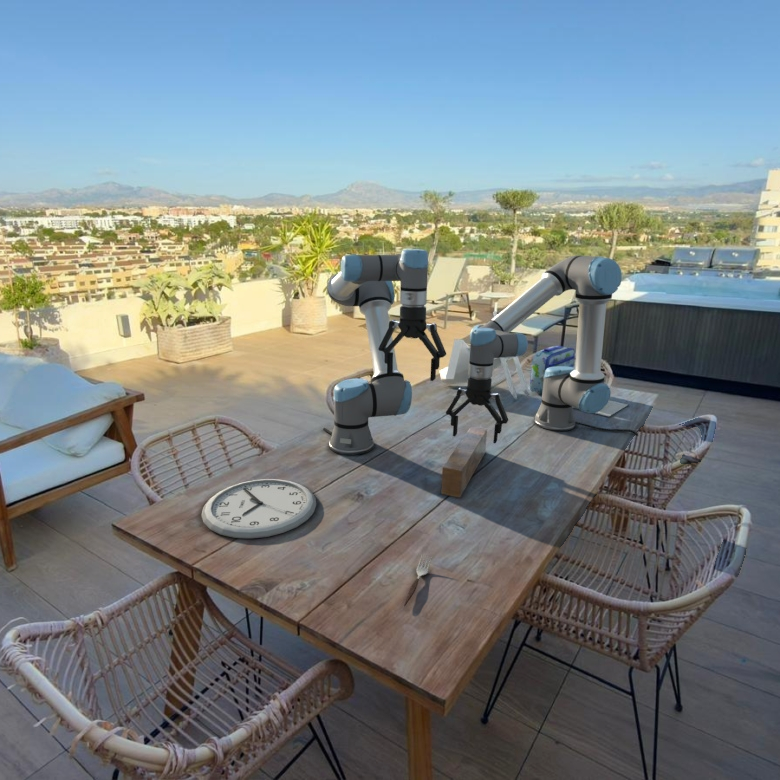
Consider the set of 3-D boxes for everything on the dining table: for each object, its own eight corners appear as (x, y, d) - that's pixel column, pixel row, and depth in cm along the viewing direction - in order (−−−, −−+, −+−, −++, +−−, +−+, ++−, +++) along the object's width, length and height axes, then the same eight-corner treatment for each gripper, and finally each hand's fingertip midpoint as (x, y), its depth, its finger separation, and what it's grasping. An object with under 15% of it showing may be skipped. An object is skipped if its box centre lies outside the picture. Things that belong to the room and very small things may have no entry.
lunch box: (546, 399, 235) (551, 353, 228) (525, 393, 242) (530, 349, 236) (574, 387, 252) (579, 345, 246) (553, 383, 260) (558, 341, 253)
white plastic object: (461, 429, 252) (437, 405, 227) (444, 352, 274) (420, 323, 250) (535, 404, 240) (518, 377, 215) (510, 326, 262) (492, 293, 237)
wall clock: (313, 530, 128) (186, 534, 125) (313, 536, 128) (187, 540, 125) (318, 474, 156) (215, 477, 154) (318, 479, 157) (216, 482, 154)
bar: (469, 449, 180) (470, 426, 178) (485, 452, 178) (487, 429, 176) (441, 493, 150) (442, 467, 147) (460, 497, 148) (461, 470, 146)
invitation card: (608, 416, 214) (573, 407, 224) (608, 416, 214) (573, 408, 224) (628, 404, 229) (594, 396, 238) (628, 405, 229) (594, 397, 238)
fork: (398, 606, 105) (398, 598, 104) (421, 561, 119) (421, 553, 119) (410, 610, 104) (410, 601, 103) (432, 564, 118) (432, 556, 118)
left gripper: (367, 304, 150) (367, 375, 156) (452, 310, 141) (448, 385, 148) (378, 300, 157) (377, 369, 163) (459, 306, 148) (455, 378, 154)
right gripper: (439, 374, 168) (435, 435, 174) (517, 384, 160) (510, 449, 166) (445, 369, 175) (441, 428, 181) (521, 379, 166) (514, 440, 172)
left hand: (411, 377), depth 155 cm, fingers open, 13 cm apart
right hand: (474, 438), depth 173 cm, fingers open, 13 cm apart
